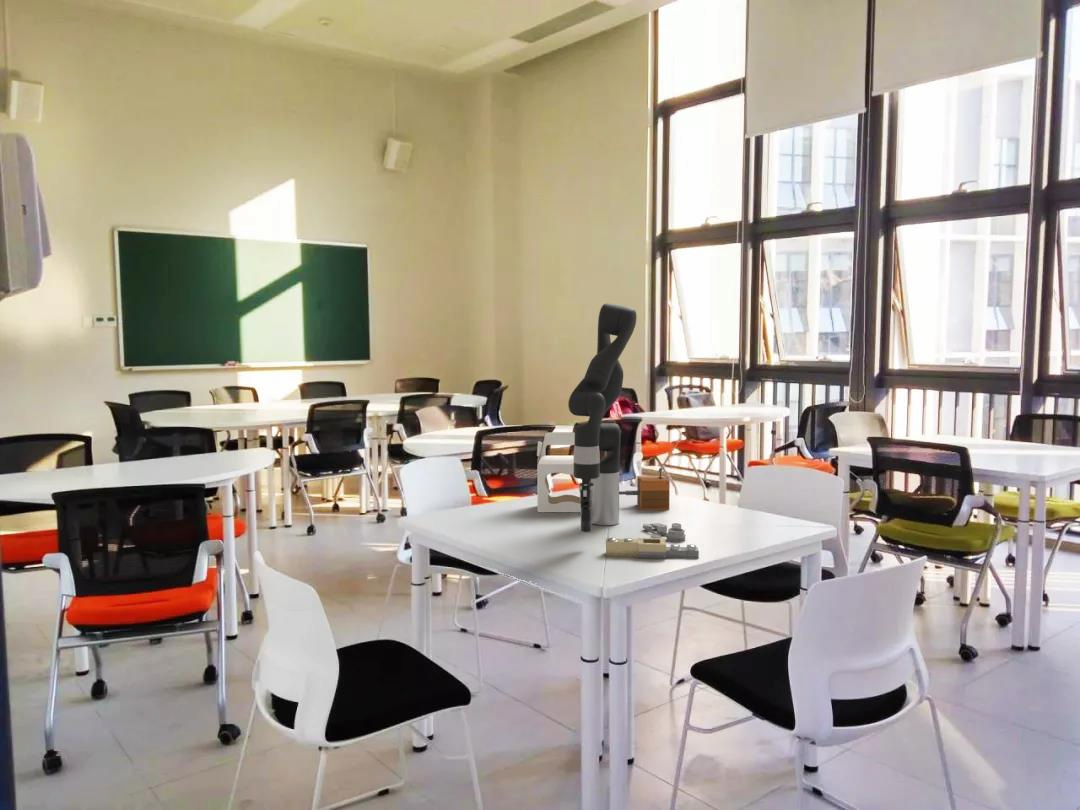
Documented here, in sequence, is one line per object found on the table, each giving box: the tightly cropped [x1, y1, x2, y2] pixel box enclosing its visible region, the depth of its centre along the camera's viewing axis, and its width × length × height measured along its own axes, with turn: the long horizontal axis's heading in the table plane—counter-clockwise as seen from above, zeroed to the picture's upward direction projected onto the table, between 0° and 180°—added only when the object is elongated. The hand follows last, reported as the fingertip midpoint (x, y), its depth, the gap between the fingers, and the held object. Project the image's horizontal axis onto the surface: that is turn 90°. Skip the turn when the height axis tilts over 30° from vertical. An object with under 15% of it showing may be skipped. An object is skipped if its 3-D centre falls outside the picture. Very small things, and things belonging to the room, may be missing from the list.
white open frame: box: [536, 431, 581, 513], centre depth 291 cm, size 22×13×28 cm, turn 89°
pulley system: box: [642, 522, 687, 543], centre depth 246 cm, size 27×5×15 cm
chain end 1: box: [605, 537, 667, 558], centre depth 227 cm, size 8×17×4 cm, turn 84°
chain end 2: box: [637, 543, 700, 560], centre depth 226 cm, size 8×17×3 cm, turn 84°
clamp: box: [619, 468, 671, 511], centre depth 295 cm, size 11×20×14 cm, turn 91°
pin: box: [580, 500, 593, 533], centre depth 233 cm, size 4×4×13 cm
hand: (586, 519), depth 233 cm, fingers closed on pin, 3 cm apart
